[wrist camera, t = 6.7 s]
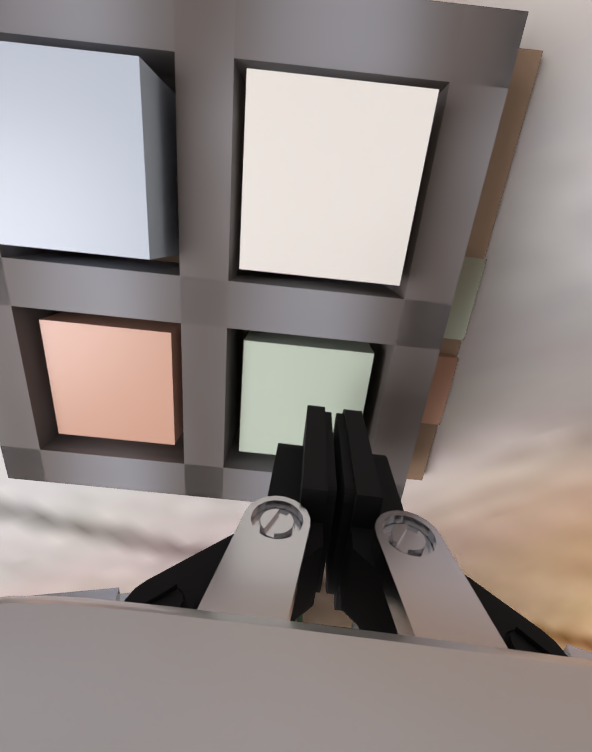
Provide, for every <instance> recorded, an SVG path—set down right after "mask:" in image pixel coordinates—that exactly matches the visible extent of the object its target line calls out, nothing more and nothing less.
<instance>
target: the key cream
mask: <svg viewBox="0 0 592 752" xmlns="http://www.w3.org/2000/svg"><path fill="white" fill-rule="evenodd" d="M438 93H439V89H431V88H422V87H413V86H404V85H395V84H386V83H377V82H368V81H359V80H350V79H340V78H331V77H322V76H313V75H304V74H295V73H286V72H277V71H268V70H259V69H250V68H247V75H246V102H245V129H244V156H243V183H242V210H241V237H240V264H239V269H244V270H254V271H263V272H273V273H282V274H292V275H302V276H311V277H321V278H330V279H340V280H349V281H359V282H369V283H378V284H388V285H397V286H400V281H401V276H402V271H403V266H404V261H405V256H406V251H407V246H408V241H409V236H410V231H411V226H412V221H413V216H414V211H415V206H416V202H417V197H418V192H419V187H420V182H421V177H422V172H423V167H424V162H425V157H426V152H427V147H428V142H429V137H430V132H431V127H432V122H433V117H434V113H435V108H436V103H437V98H438Z"/></svg>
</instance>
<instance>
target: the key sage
mask: <svg viewBox="0 0 592 752" xmlns="http://www.w3.org/2000/svg"><path fill="white" fill-rule="evenodd" d="M373 358H374V352H373V350H372V349H371V347H370V345H369V343H368V342H359V341H349V340H339V339H329V338H320V337H310V336H300V335H290V334H281V333H271V332H261V331H251V330H250V331H249V332H248V334H247V336H246V338H245V339H244V350H243V373H242V395H241V417H240V439H239V451H242V452H252V453H263V454H273V455H276V451H277V446H278V443H284V444H293V445H301V446H303V438H304V430H305V421H306V413H307V406H308V405H313V406H321V407H325V412H331V413H332V427H333V430H334V424H335V417H336V413H343V410H344V409H348V410H356V411H362V414H363V411H364V406H365V400H366V395H367V390H368V384H369V379H370V374H371V369H372V363H373Z"/></svg>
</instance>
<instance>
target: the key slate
mask: <svg viewBox="0 0 592 752" xmlns="http://www.w3.org/2000/svg"><path fill="white" fill-rule="evenodd" d="M0 244H4V245H14V246H24V247H33V248H43V249H52V250H62V251H72V252H81V253H91V254H100V255H110V256H119V257H129V258H139V259H148V260H150V259H156V258H162V257H167V256H173V255H178V254H179V217H178V175H177V132H176V94H175V93H174V92H173V91H172V90H171V89H170V88H169V87H168V86H167V85H166V84H165V83H164V82H163V81H162V80H161V79H160V78H159V77H158V76H157V75H156V74H155V73H154V72H153V70H152V69H151V68H150V67H149V66H148V65H147V64H146V63H145V62H144V61H143V60H142V59H141V58H140V57H139V56H132V55H123V54H114V53H105V52H96V51H87V50H78V49H69V48H60V47H51V46H42V45H33V44H24V43H15V42H6V41H0Z"/></svg>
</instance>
